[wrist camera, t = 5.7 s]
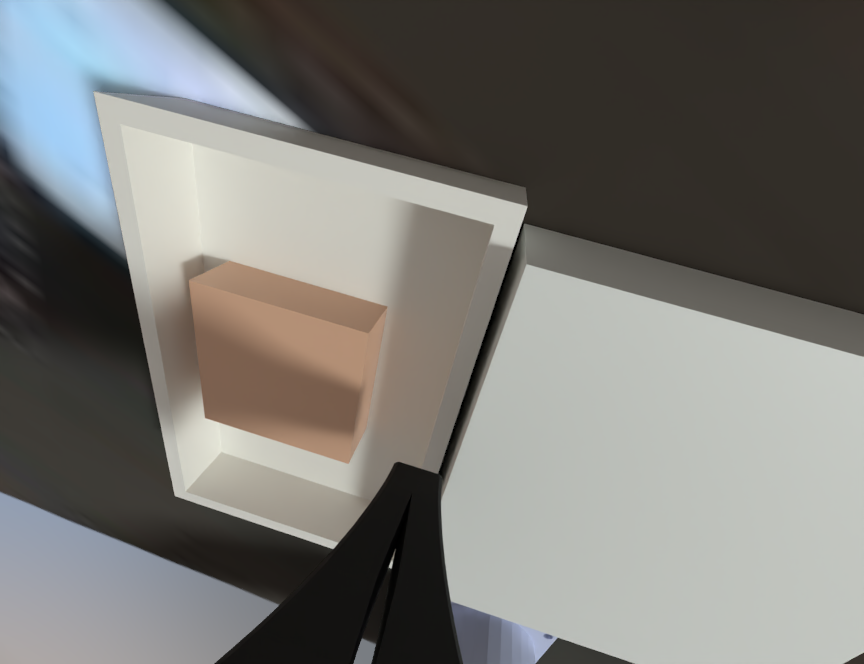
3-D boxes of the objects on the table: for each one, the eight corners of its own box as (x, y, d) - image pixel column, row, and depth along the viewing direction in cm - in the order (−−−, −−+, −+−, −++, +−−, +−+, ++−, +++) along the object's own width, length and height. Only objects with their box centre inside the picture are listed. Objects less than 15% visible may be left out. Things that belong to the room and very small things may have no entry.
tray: (419, 513, 19) (404, 573, 17) (219, 447, 20) (175, 495, 18) (525, 187, 11) (527, 206, 9) (184, 98, 12) (93, 91, 9)
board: (716, 594, 18) (763, 706, 15) (429, 502, 19) (410, 587, 15) (1003, 351, 11) (1225, 456, 7) (524, 223, 12) (526, 264, 8)
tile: (204, 418, 15) (237, 388, 17) (348, 463, 15) (366, 428, 16) (188, 280, 12) (229, 260, 14) (368, 333, 12) (387, 306, 13)
